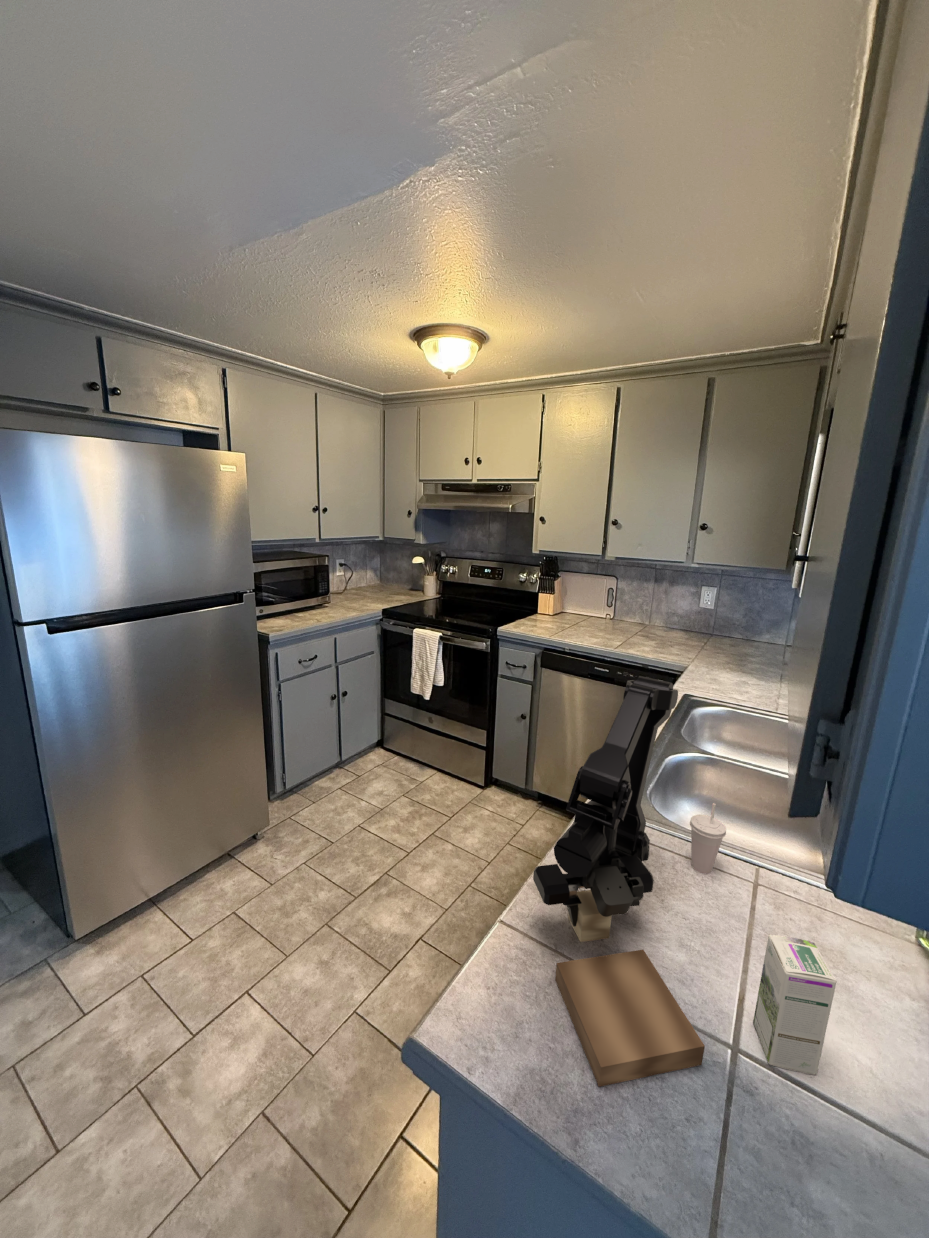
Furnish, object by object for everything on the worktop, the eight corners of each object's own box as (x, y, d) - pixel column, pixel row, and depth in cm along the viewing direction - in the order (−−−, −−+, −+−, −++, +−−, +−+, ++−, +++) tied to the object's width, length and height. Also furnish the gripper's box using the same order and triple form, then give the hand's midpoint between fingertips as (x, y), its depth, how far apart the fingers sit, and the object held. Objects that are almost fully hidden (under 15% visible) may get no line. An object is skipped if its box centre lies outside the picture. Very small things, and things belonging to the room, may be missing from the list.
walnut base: (641, 965, 75) (643, 949, 74) (701, 1064, 61) (704, 1045, 61) (555, 979, 72) (556, 962, 71) (598, 1086, 58) (601, 1067, 58)
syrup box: (818, 1077, 60) (841, 981, 57) (766, 1065, 61) (786, 970, 58) (797, 1031, 66) (817, 940, 63) (750, 1020, 67) (767, 931, 64)
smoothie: (725, 879, 93) (736, 814, 91) (692, 878, 94) (702, 813, 91) (709, 856, 100) (719, 795, 97) (678, 855, 100) (687, 793, 97)
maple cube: (595, 913, 84) (597, 888, 83) (608, 938, 79) (612, 911, 78) (568, 917, 83) (570, 892, 82) (580, 942, 78) (583, 915, 77)
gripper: (561, 882, 68) (553, 974, 72) (680, 868, 72) (667, 956, 75) (535, 832, 79) (529, 914, 82) (639, 822, 83) (629, 901, 86)
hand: (588, 922), depth 81 cm, fingers closed on maple cube, 5 cm apart
